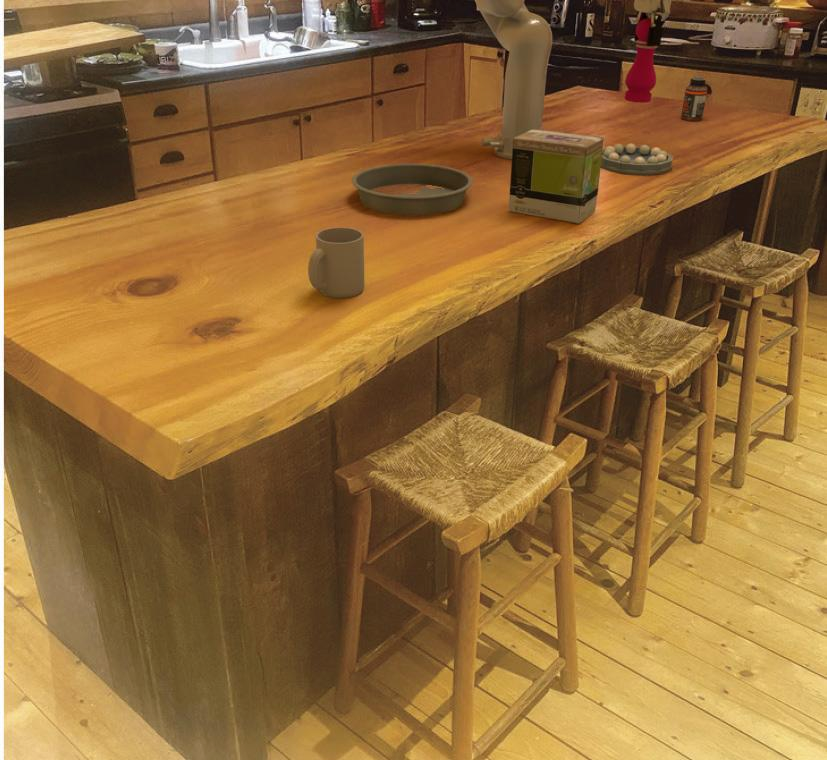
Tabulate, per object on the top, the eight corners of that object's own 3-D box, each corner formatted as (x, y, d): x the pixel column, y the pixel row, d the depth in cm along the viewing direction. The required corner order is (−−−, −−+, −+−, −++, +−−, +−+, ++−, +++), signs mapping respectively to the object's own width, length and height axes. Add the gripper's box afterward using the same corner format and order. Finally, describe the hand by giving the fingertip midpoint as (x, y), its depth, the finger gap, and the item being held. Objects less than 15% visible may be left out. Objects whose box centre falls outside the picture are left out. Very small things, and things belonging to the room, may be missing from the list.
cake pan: (482, 188, 179) (483, 167, 177) (456, 224, 159) (457, 201, 156) (373, 178, 185) (373, 158, 183) (335, 212, 164) (334, 190, 162)
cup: (374, 289, 131) (373, 234, 126) (327, 308, 124) (324, 252, 120) (342, 276, 135) (340, 224, 131) (295, 295, 128) (291, 240, 124)
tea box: (596, 211, 166) (605, 136, 158) (578, 225, 158) (587, 147, 151) (527, 199, 172) (533, 126, 165) (506, 212, 165) (511, 136, 157)
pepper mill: (650, 98, 206) (665, 10, 196) (654, 104, 199) (670, 13, 190) (620, 96, 206) (634, 8, 196) (624, 102, 200) (638, 11, 190)
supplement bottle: (676, 117, 242) (683, 76, 236) (694, 116, 243) (701, 76, 238) (688, 122, 237) (695, 80, 231) (706, 121, 238) (713, 79, 233)
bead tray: (614, 177, 187) (616, 161, 185) (586, 157, 202) (587, 142, 200) (683, 173, 190) (686, 157, 188) (651, 154, 205) (653, 139, 203)
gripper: (629, -45, 194) (617, 38, 203) (662, -41, 180) (647, 48, 188) (659, -44, 196) (645, 38, 205) (694, -40, 181) (678, 49, 190)
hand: (646, 42), depth 196 cm, fingers closed on pepper mill, 6 cm apart
